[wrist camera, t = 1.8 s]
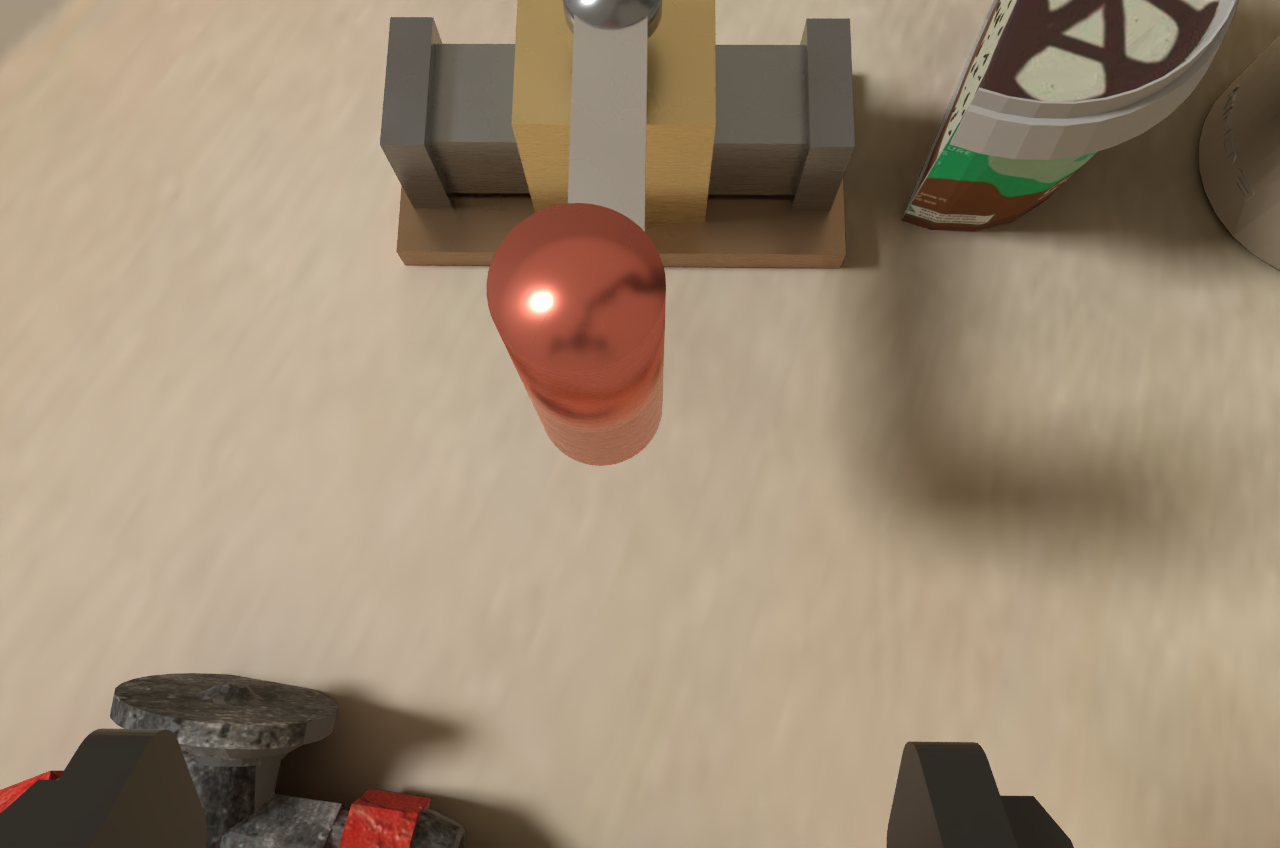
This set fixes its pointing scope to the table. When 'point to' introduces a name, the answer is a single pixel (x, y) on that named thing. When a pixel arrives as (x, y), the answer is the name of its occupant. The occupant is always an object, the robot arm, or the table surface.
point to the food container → (1058, 99)
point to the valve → (263, 766)
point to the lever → (592, 256)
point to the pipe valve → (675, 139)
